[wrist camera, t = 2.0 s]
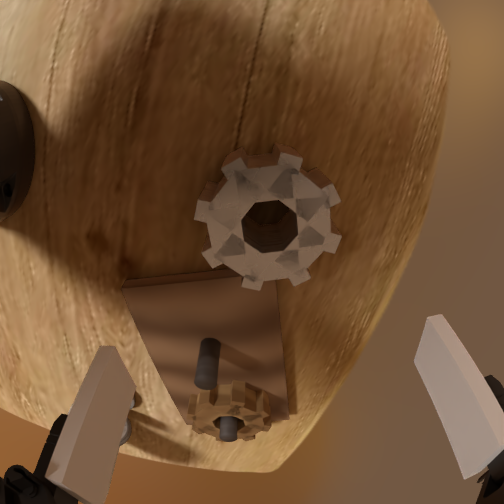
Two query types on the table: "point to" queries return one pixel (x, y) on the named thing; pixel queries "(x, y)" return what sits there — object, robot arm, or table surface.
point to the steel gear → (270, 235)
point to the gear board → (215, 317)
